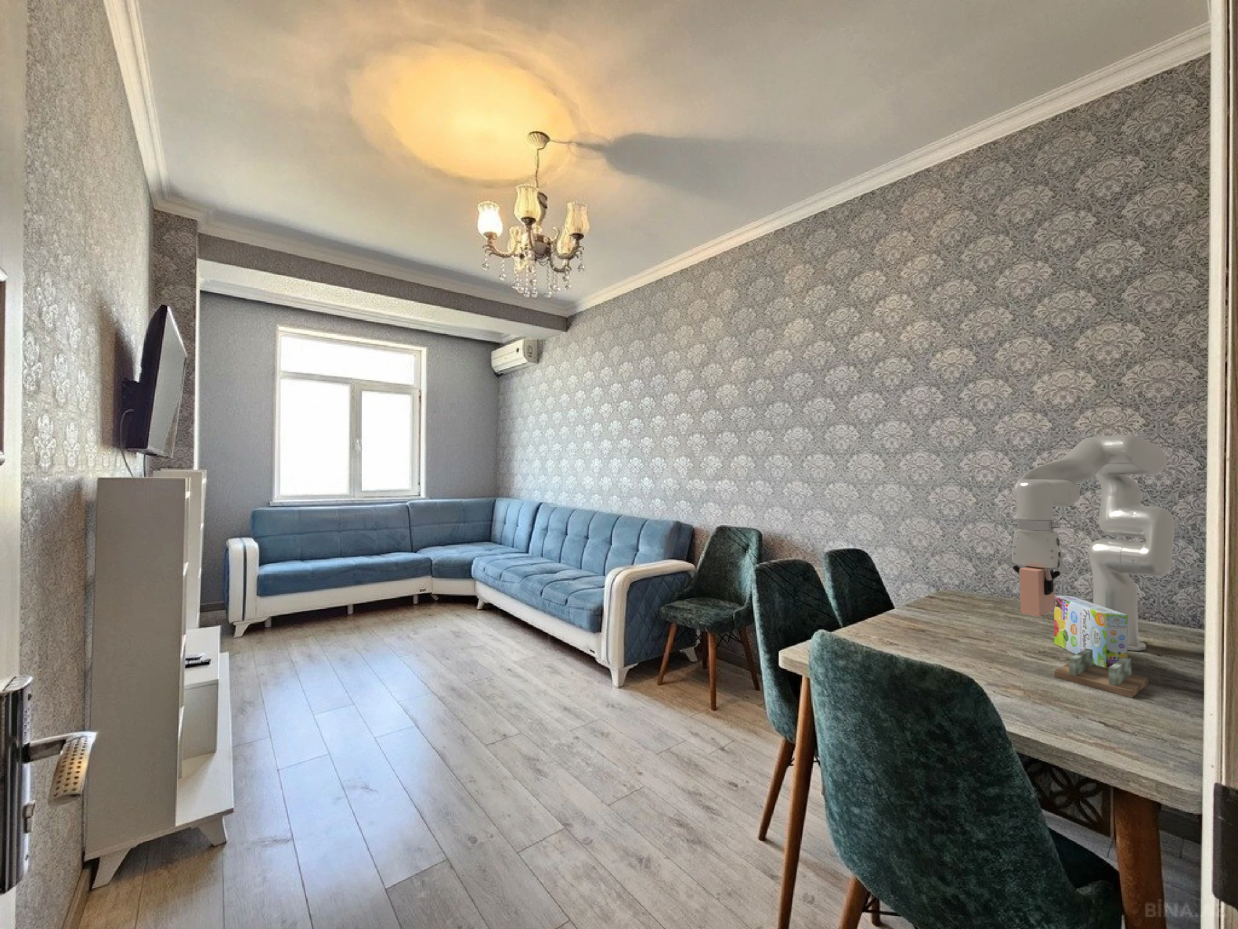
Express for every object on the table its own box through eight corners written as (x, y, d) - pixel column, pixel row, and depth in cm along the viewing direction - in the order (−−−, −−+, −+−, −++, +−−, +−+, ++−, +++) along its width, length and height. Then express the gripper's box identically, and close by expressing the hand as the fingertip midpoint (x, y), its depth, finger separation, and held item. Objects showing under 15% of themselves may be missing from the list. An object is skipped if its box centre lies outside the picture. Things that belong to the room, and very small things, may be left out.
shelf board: (1073, 665, 134) (1073, 645, 134) (1148, 684, 122) (1147, 661, 122) (1054, 677, 126) (1054, 655, 126) (1131, 697, 114) (1131, 673, 115)
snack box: (1130, 672, 129) (1129, 614, 130) (1105, 670, 130) (1104, 613, 131) (1073, 645, 150) (1072, 595, 150) (1052, 643, 151) (1051, 594, 152)
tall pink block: (1036, 606, 141) (1035, 564, 141) (1054, 609, 137) (1053, 566, 138) (1020, 613, 135) (1019, 569, 135) (1039, 616, 132) (1037, 571, 132)
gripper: (1080, 527, 131) (1082, 596, 131) (1004, 522, 145) (1006, 585, 145) (1070, 529, 127) (1072, 601, 127) (993, 524, 141) (995, 588, 141)
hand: (1037, 591), depth 136 cm, fingers closed on tall pink block, 4 cm apart
